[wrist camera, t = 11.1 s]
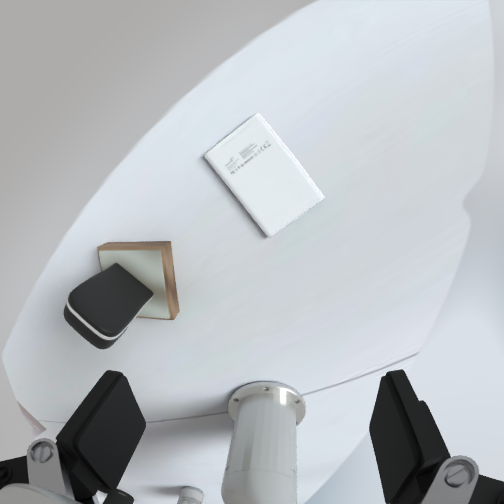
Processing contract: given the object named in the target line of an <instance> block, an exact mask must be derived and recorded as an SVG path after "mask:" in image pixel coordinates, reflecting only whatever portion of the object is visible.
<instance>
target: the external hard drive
mask: <svg viewBox="0 0 504 504" xmlns="http://www.w3.org/2000/svg"><path fill="white" fill-rule="evenodd" d="M204 157H205V158H206V159H207V161H208V162H209V163H210V164H211V166H212V167H213V168H214V169H215V171H216V172H217V173H218V175H219V176H220V177H221V178H222V180H223V181H224V182H225V183H226V185H227V186H228V187H229V188H230V190H231V191H232V192H233V193H234V195H235V196H236V197H237V199H238V200H239V201H240V202H241V204H242V205H243V206H244V207H245V209H246V210H247V211H248V213H249V214H250V215H251V216H252V218H253V219H254V220H255V222H256V223H257V224H258V225H259V227H260V228H261V229H262V230H263V232H264V233H265V234H266V236H267V237H268V238H270V237H272V236H273V235H274V234H276V233H277V232H279V231H280V230H281V229H283V228H284V227H285V226H287V225H288V224H290V223H291V222H292V221H294V220H295V219H296V218H298V217H299V216H300V215H302V214H303V213H305V212H306V211H307V210H309V209H310V208H311V207H313V206H314V205H316V204H317V203H318V202H320V201H321V200H322V199H324V198H325V197H324V196H323V194H322V193H321V191H320V190H319V189H318V187H317V186H316V185H315V183H314V182H313V180H312V179H311V178H310V176H309V175H308V174H307V172H306V171H305V170H304V168H303V167H302V166H301V165H300V163H299V162H298V161H297V159H296V158H295V157H294V155H293V154H292V153H291V152H290V150H289V149H288V148H287V147H286V145H285V144H284V143H283V142H282V140H281V139H280V138H279V137H278V135H277V134H276V133H275V132H274V131H273V129H272V128H271V127H270V126H269V125H268V123H267V122H266V121H265V120H264V119H263V117H262V116H261V115H260V114H259V113H257V114H255V115H254V116H252V117H251V118H250V119H249V120H247V121H246V122H245V123H243V124H242V125H241V126H240V127H238V128H237V129H236V130H234V131H233V132H232V133H231V134H229V135H228V136H227V137H226V138H224V139H223V140H222V141H221V142H219V143H218V144H217V145H216V146H214V147H213V148H212V149H211V150H210V151H208V152H207V153H206V154H205V155H204Z"/></svg>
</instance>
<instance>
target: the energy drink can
mask: <svg viewBox="0 0 504 504" xmlns="http://www.w3.org/2000/svg"><path fill="white" fill-rule="evenodd" d="M203 498H204V494H203V492H202V491H201V490H200V489H198V488H195V487H189V486H188V487H185V488H184V489H182V490H181V493H180V497H179V500H178V503H177V504H202V502H203Z"/></svg>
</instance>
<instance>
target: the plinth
mask: <svg viewBox="0 0 504 504" xmlns="http://www.w3.org/2000/svg"><path fill="white" fill-rule="evenodd" d="M97 248H98V254H99V260H100V266H101V271H104V270H106V269H107V268H109V267H110V266H112V265H113V264H114V263H118V264H119V265H120V266H122V267H123V268H124V269H125V270H127V271H128V272H129V273H130V274H132V275H133V276H134V277H135V278H136V279H138V280H139V281H140V282H141V283H143V284H144V285H145V286H146V287H147V288H149V289H150V290H151V291H152V292H153V297H152V299H151V300H150V301H149V302H148V303H147V304H146V305H145V306H144V307H143V308H142V310H141V311H140V312H139V314H138V315H137V316H136V317H139V318H151V319H163V320H174V319H175V317H176V316H177V314H178V313H179V305H178V298H177V290H176V283H175V275H174V267H173V258H172V248H171V241H156V242H109V243H105V244H103V245H101V246H99V247H97Z"/></svg>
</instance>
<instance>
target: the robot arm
mask: <svg viewBox="0 0 504 504" xmlns="http://www.w3.org/2000/svg"><path fill="white" fill-rule="evenodd" d="M228 413H229V415H230V417H231V419H232V420H233V421H234V422H235V423H234V428H233V433H232V438H231V443H230V448H229V453H228V458H227V463H226V468H225V472H224V477H223V482H222V487H221V495H222V499H223V501H224V503H225V504H297V434H296V426H297V425H298V424H299V423H300V422H301V421H302V420H303V418H304V416H305V413H306V406H305V401H304V399H303V397H302V396H301V395H300V394H299V393H298V392H297V391H296V390H294V389H293V388H291V387H289V386H287V385H284V384H281V383H275V382H255V383H251V384H248V385H245V386H243V387H241V388H239V389H237V390H236V391H235V392H234V393H233V394H232V396H231V397H230V400H229V404H228ZM145 428H146V422H145V419H144V417H143V415H142V413H141V411H140V408H139V406H138V404H137V402H136V399H135V397H134V395H133V392H132V390H131V387H130V385H129V382H128V380H127V378H126V377H125V376H124V375H123V373H121V372H118V371H111V370H107V371H106V372H105V373H104V374H103V376H102V377H101V378H100V379H99V381H98V382H97V383H96V385H95V386H94V387H93V389H92V390H91V391H90V392H89V394H88V395H87V396H86V398H85V399H84V400H83V402H82V403H81V404H80V406H79V407H78V408H77V410H76V411H75V412H74V414H73V415H72V416H71V418H70V419H69V420H68V422H67V423H66V424H65V426H64V427H63V429H62V430H61V431H60V433H59V434H58V435H57V437H56V440H57V442H56V443H54V442H53V441H52V440H50V439H46V438H44V439H39V440H36V441H34V442H33V443H32V444H31V445H30V446H29V448H28V450H27V455H26V456H22V457H19V458H14V459H10V460H5V461H1V462H0V504H99V502H98V499H97V496H96V492H97V490H99V491H101V492H104V493H107V494H111V492H112V490H114V489H116V488H117V486H118V484H119V482H120V480H121V478H122V476H123V474H124V472H125V469H126V467H127V465H128V463H129V461H130V459H131V457H132V455H133V453H134V451H135V449H136V447H137V445H138V443H139V441H140V439H141V436H142V434H143V432H144V430H145ZM369 431H370V436H371V440H372V444H373V448H374V452H375V456H376V461H377V465H378V470H379V474H380V479H381V483H382V488H383V493H384V498H385V502H386V504H504V482H503V481H499V480H496V479H492V478H489V477H486V476H483V475H480V474H479V469H478V466H477V464H476V462H475V461H473V460H472V459H471V458H469V457H467V456H454V457H451V456H450V454H449V452H448V449H447V447H446V445H445V443H444V440H443V438H442V436H441V434H440V432H439V429H438V427H437V425H436V423H435V421H434V419H433V416H432V414H431V412H430V410H429V408H428V406H427V404H426V403H425V402H424V401H419V400H418V398H417V396H416V394H415V392H414V390H413V388H412V386H411V384H410V382H409V380H408V378H407V376H406V374H405V372H404V370H402V369H401V370H395V371H389V372H387V373H386V376H383V377H382V378H381V381H380V386H379V390H378V394H377V398H376V402H375V406H374V410H373V414H372V418H371V421H370V426H369Z"/></svg>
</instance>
